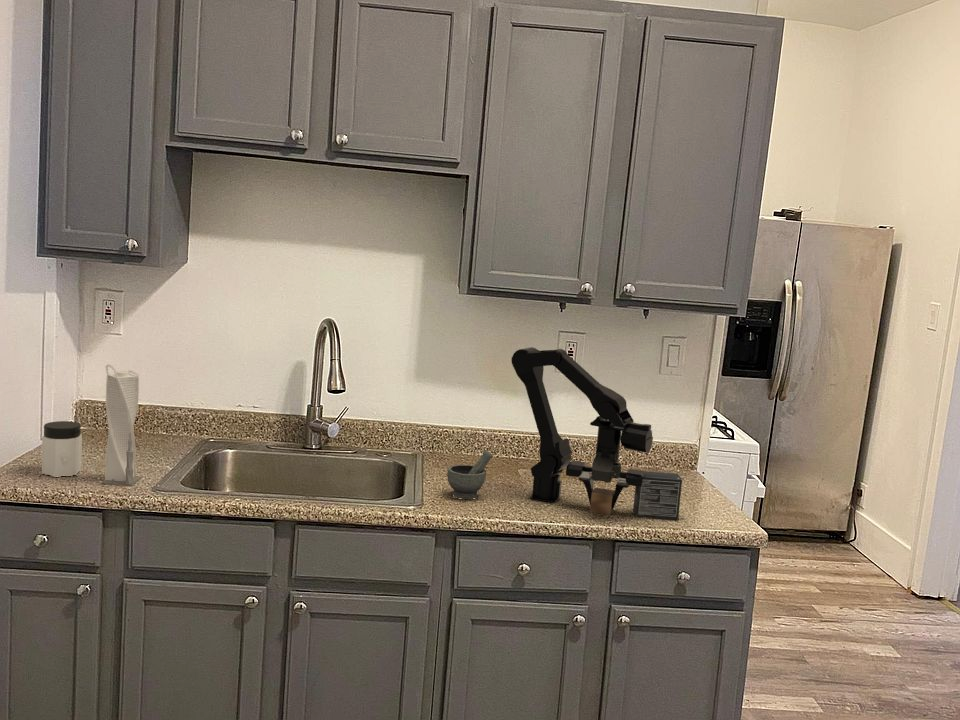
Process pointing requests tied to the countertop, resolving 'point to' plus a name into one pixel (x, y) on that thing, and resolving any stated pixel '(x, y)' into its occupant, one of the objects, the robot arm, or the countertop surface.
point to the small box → (658, 496)
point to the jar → (61, 448)
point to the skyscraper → (121, 427)
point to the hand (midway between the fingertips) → (601, 506)
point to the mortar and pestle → (468, 477)
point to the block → (602, 501)
